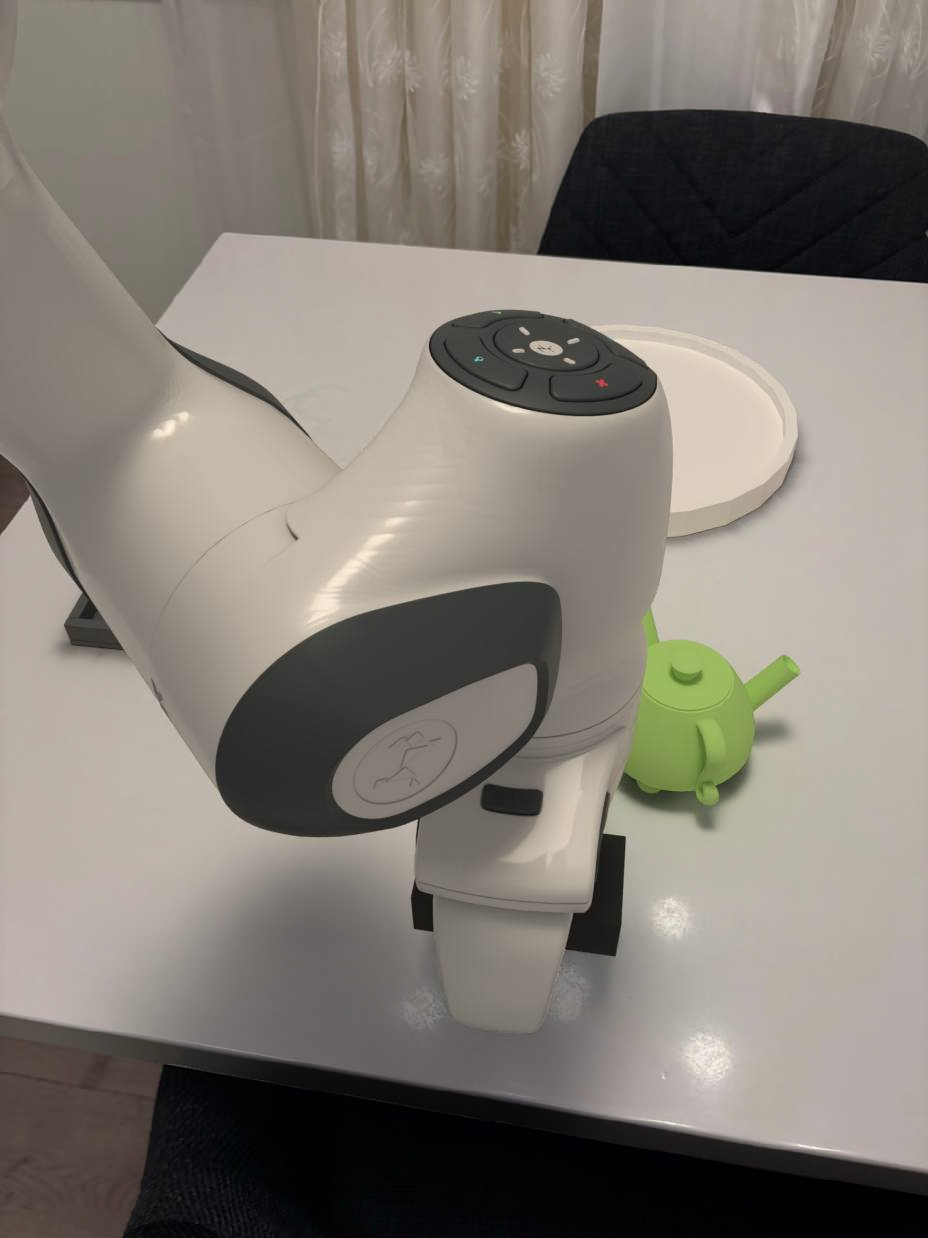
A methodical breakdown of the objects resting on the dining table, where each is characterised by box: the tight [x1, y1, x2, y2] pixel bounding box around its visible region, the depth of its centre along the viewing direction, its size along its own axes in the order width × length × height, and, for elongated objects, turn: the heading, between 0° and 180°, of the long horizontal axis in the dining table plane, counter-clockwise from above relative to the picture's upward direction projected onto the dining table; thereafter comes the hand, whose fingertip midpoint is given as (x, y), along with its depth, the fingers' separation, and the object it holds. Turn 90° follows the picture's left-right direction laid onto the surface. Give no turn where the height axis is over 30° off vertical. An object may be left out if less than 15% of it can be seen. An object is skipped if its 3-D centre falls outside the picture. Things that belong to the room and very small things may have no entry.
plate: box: [587, 324, 799, 538], centre depth 89 cm, size 28×28×2 cm
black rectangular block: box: [410, 832, 627, 958], centre depth 52 cm, size 10×5×3 cm, turn 81°
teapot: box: [623, 605, 801, 806], centre depth 63 cm, size 11×12×8 cm
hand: (519, 881), depth 52 cm, fingers closed on black rectangular block, 5 cm apart
